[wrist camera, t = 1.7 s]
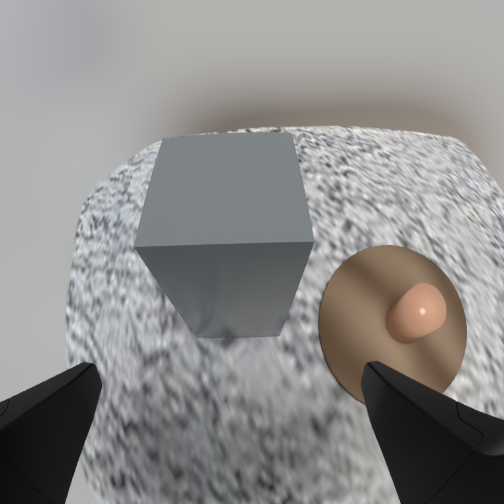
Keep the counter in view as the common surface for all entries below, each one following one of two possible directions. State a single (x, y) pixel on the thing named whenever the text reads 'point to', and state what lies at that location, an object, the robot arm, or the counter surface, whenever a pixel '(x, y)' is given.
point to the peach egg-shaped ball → (416, 314)
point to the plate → (374, 320)
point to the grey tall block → (227, 231)
